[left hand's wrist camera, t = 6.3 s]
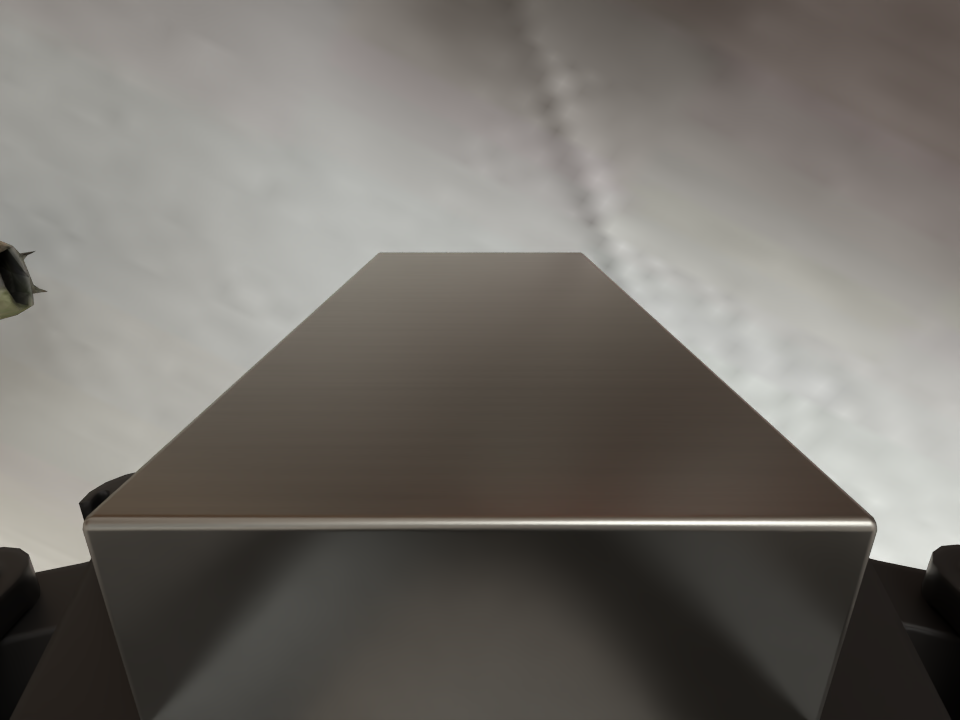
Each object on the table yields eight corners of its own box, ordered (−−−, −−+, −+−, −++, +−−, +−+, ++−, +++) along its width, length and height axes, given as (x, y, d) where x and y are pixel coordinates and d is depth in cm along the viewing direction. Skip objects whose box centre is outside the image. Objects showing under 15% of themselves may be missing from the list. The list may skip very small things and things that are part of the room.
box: (377, 251, 16) (73, 522, 4) (583, 252, 16) (885, 522, 4) (408, 733, 23) (331, 1354, 11) (551, 733, 23) (628, 1355, 11)
